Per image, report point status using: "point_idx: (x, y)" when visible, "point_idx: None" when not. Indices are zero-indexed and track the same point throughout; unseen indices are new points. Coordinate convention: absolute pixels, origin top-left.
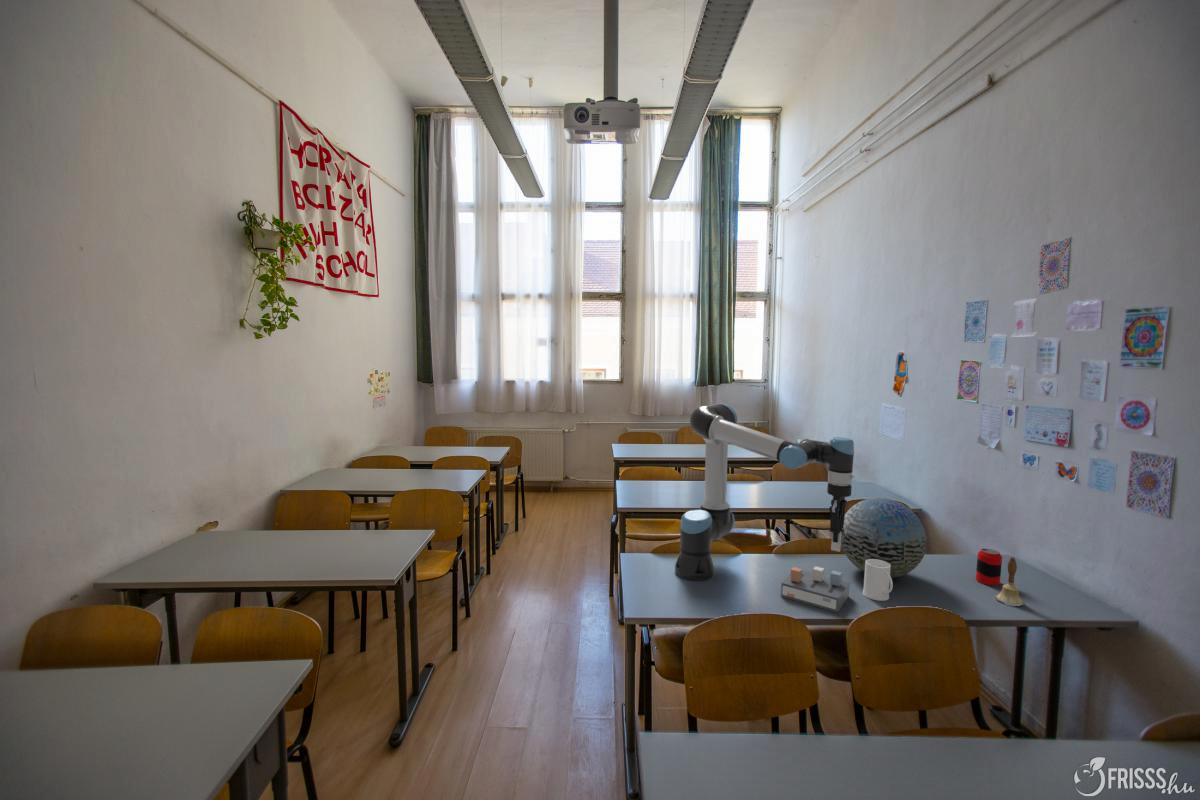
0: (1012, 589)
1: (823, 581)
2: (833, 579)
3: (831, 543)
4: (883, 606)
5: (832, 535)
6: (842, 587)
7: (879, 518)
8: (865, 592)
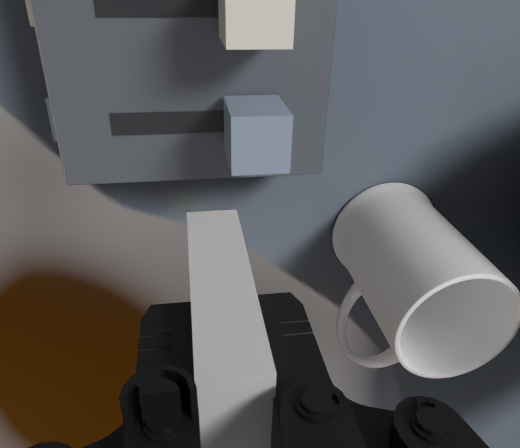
0: None
1: None
2: (227, 125)
3: (189, 256)
4: (290, 275)
5: (194, 340)
6: None
7: None
8: (358, 207)
